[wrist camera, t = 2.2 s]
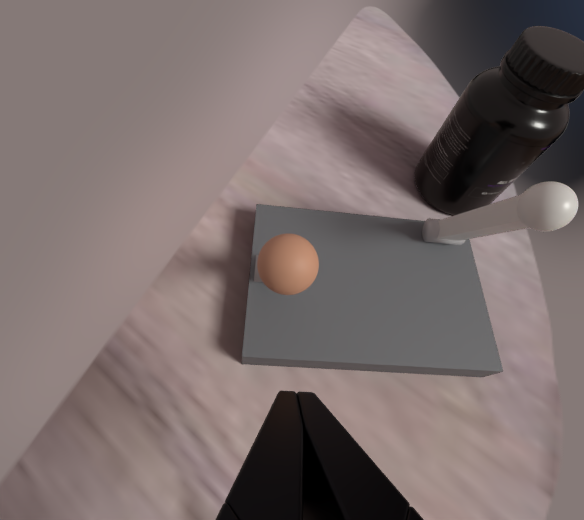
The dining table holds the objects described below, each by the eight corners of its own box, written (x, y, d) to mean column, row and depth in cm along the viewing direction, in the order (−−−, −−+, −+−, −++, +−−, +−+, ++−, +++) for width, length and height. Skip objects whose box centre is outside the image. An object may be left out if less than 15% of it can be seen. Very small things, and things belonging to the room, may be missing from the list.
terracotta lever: (292, 289, 21) (324, 299, 11) (253, 286, 21) (251, 293, 11) (295, 254, 21) (329, 233, 11) (256, 250, 21) (257, 225, 11)
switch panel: (482, 377, 22) (503, 371, 20) (241, 363, 21) (241, 356, 19) (451, 239, 27) (465, 225, 25) (255, 220, 26) (256, 203, 24)
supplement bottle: (482, 231, 28) (627, 104, 17) (404, 199, 28) (498, 57, 18) (491, 175, 31) (617, 40, 21) (420, 147, 32) (509, 2, 21)
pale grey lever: (453, 250, 24) (593, 230, 14) (421, 247, 24) (541, 224, 14) (454, 219, 24) (595, 178, 14) (423, 216, 24) (542, 172, 14)
